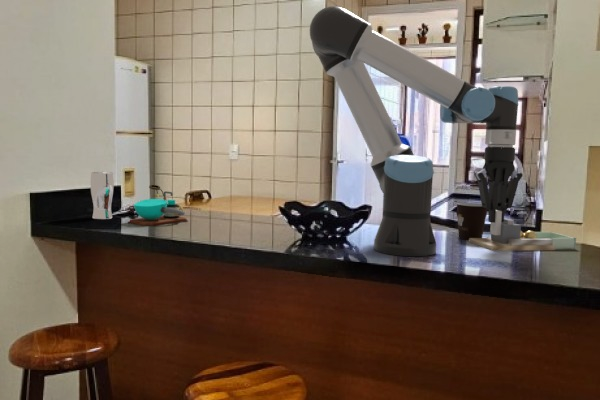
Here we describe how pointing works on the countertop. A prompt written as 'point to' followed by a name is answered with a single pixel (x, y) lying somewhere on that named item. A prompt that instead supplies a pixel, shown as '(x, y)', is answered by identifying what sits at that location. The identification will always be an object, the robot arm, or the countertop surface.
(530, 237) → the brass ball
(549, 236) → the tray
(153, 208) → the contraption on wooden base
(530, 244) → the jig board
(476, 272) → the countertop surface
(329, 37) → the robot arm
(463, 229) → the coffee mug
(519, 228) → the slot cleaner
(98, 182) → the beer glass
